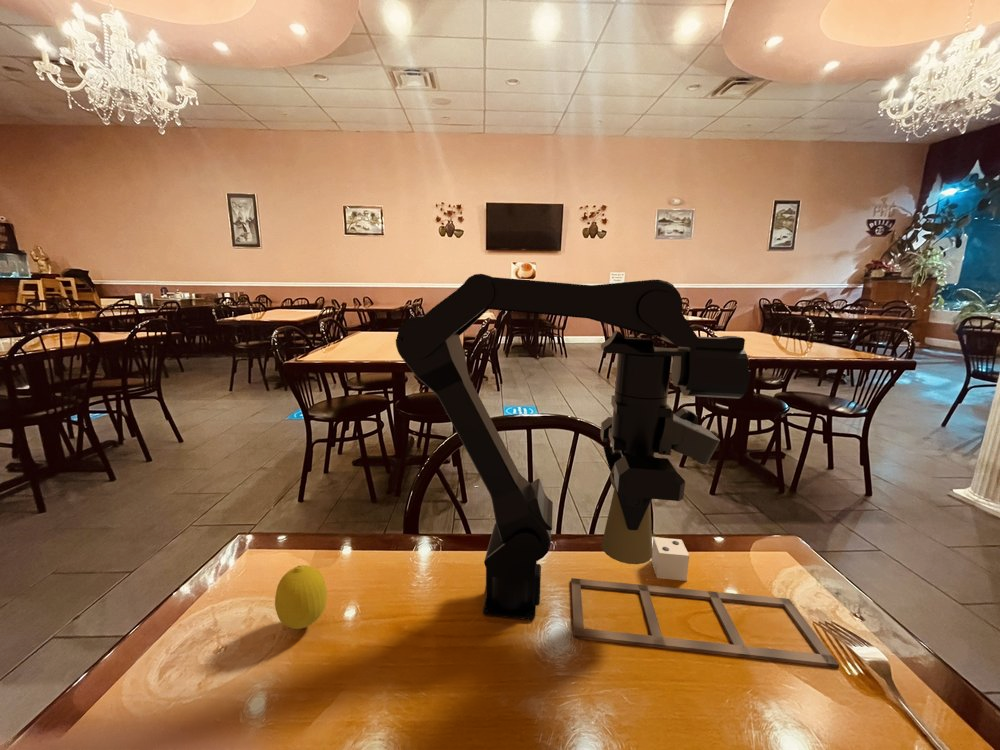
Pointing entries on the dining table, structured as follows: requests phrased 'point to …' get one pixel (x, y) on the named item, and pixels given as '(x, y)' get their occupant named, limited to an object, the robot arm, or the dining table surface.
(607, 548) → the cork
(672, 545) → the die
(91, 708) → the dining table surface
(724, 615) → the three-pane window frame
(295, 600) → the lemon
